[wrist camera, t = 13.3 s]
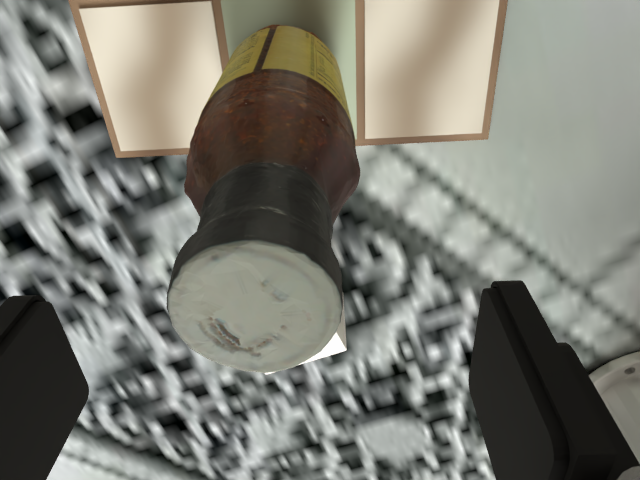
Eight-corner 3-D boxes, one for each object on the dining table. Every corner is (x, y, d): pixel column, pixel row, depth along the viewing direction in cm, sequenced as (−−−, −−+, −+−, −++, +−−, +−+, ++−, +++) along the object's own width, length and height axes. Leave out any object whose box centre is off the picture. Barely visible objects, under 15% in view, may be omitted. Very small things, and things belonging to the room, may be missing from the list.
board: (507, -30, 26) (513, -28, 25) (484, 135, 30) (488, 140, 30) (73, -4, 26) (66, -2, 25) (120, 153, 31) (115, 159, 30)
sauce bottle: (242, 136, 30) (134, 417, 13) (220, 25, 26) (35, 214, 10) (351, 125, 29) (382, 402, 13) (342, 11, 26) (372, 185, 9)
